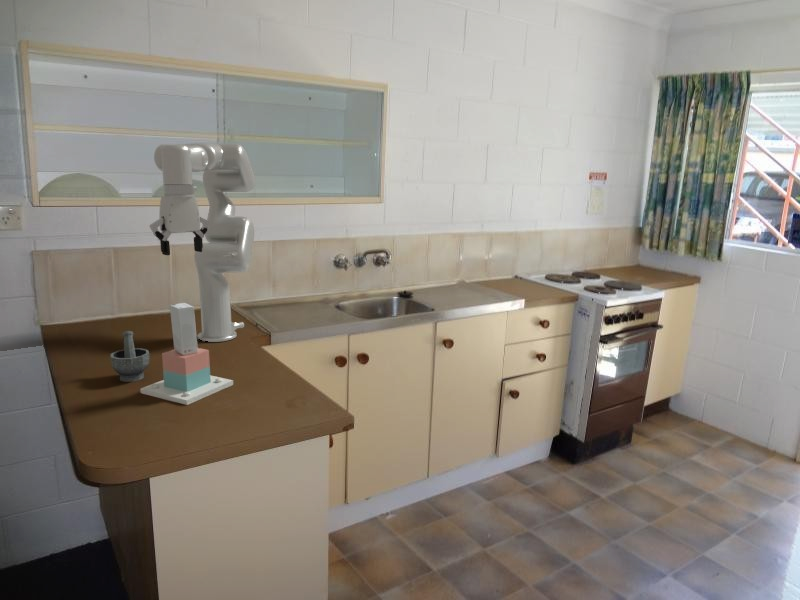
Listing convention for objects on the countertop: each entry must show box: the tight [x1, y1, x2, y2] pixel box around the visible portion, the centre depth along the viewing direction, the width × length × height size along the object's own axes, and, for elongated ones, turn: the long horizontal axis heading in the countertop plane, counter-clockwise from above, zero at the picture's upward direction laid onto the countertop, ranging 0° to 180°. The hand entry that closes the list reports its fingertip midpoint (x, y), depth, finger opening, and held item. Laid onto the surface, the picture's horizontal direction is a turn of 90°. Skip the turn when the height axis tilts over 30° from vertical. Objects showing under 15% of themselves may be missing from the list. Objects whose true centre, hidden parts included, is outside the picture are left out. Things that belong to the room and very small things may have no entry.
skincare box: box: [169, 302, 199, 355], centre depth 154 cm, size 6×4×12 cm
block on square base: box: [139, 347, 234, 406], centre depth 156 cm, size 16×16×10 cm
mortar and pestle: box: [110, 330, 150, 383], centre depth 164 cm, size 11×9×12 cm
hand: (182, 253), depth 171 cm, fingers open, 9 cm apart
